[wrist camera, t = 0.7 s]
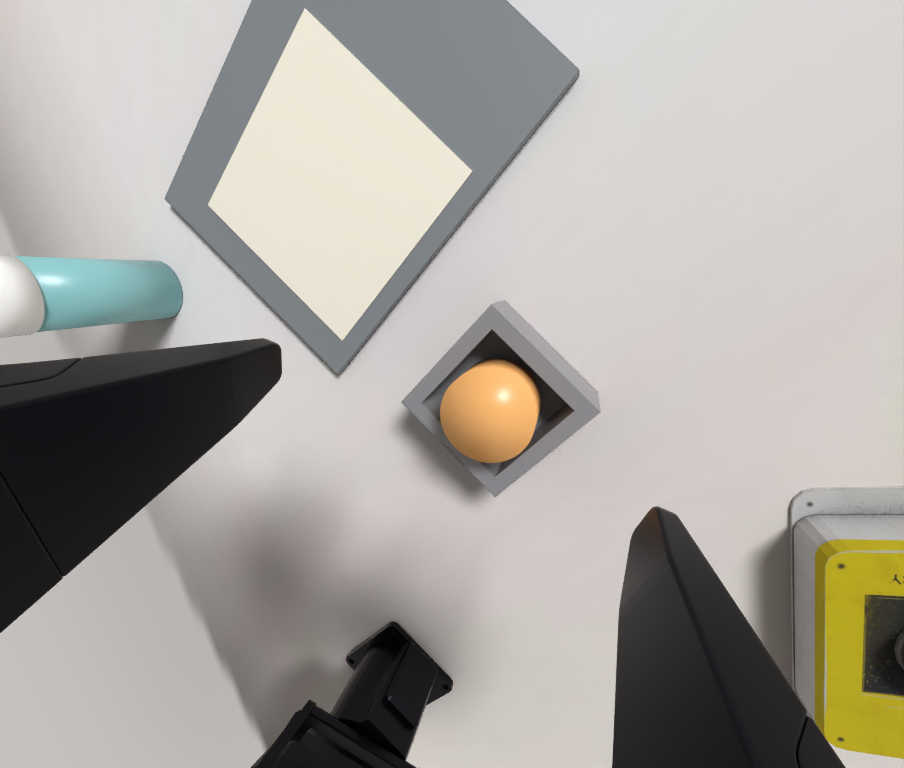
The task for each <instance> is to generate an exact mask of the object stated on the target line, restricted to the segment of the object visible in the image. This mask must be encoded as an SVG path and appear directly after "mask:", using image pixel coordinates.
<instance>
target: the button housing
mask: <svg viewBox="0 0 904 768" xmlns="http://www.w3.org/2000/svg"><path fill="white" fill-rule="evenodd" d="M490 358H505V359H509V360H512V361H515V362H517V363H519V364H521V365H522V366H524V367H525V368H526V369H527V370H528V371H529V372H530V373H531V374H532V375H533V377H534V378H535V380H536V381H537V383H538V386H539V389H540V392H541V409H540V413H539V416H538V420H537V423H536V426H535V430H534V433H533V436H532V438H531V440H530V442H529V444H528V445H527V446H526V448H525V449H524V450H523V451H522V452H521V453H520V454H518V455H517V456H515V457H513V458H512V459H509V460H507V461H503V462H498V463H485V462H480V461H476V460H473V459H471V458H469V457H467V456H465V455H463V454H462V453H461V452H459V451H458V450H457V449H456V448H455V447H454V446H453V445H452V444H451V443H450V441H449V440H448V438H447V437H446V435H445V433H444V430H443V428H442V424H441V419H440V407H441V402H442V398H443V396H444V394H445V392H446V390H447V389H448V388H449V386H450V385H451V384H452V383H453V382H454V381H455V380H456V379H458V378H459V377H460V376H461V375H462V374H464V373H465V372H466V371H467V370H468V369H470V368H471V367H472V366H473V365H475V364H476V363H478V362H480V361H482V360H485V359H490ZM401 403H402V404H403V405H404V406H405V407H406V408H407V409H408V410H409V411H410V412H411V413H412V414H413V415H414V416H415V417H416V418H417V419H418V420H419V421H420V422H421V423H422V424H423V425H424V426H425V427H426V428H427V429H428V430H429V431H430V432H431V433H432V434H433V435H434V436H435V437H436V438H437V439H438V440H439V441H440V442H441V443H442V444H443V445H444V446H445V447H446V448H447V449H448V450H449V451H450V452H451V453H452V454H453V455H454V456H455V457H456V458H457V459H458V460H459V461H460V462H461V463H462V464H463V465H464V466H465V467H466V468H467V469H468V470H469V471H470V472H471V473H472V474H473V475H474V476H475V477H476V478H477V479H478V480H479V481H480V482H481V483H482V484H483V485H484V486H485V487H486V488H487V489H488V490H489V491H490V492H491V493H492V494H493V495H494V496H495V497H496V496H497V495H499V494H500V493H501V492H502V491H503V490H505V489H506V488H507V487H508V486H510V485H511V484H512V483H513V482H515V481H516V480H517V479H518V478H520V477H521V476H522V475H523V474H525V473H526V472H527V471H528V470H529V469H531V468H532V467H533V466H534V465H536V464H537V463H538V462H539V461H541V460H542V459H543V458H544V457H546V456H547V455H548V454H549V453H551V452H552V451H553V450H554V449H555V448H557V447H558V446H559V445H560V444H562V443H563V442H564V441H565V440H567V439H568V438H569V437H570V436H572V435H573V434H574V433H575V432H577V431H578V430H579V429H580V428H581V427H583V426H584V425H585V424H586V423H588V422H589V421H590V420H591V419H593V418H594V417H595V416H596V415H598V414H599V413H600V405H599V398H598V392H597V391H596V390H595V389H594V388H593V387H592V386H591V385H590V384H589V383H588V382H587V381H586V380H585V379H584V378H583V377H582V376H581V375H580V374H579V373H578V372H577V371H576V370H575V369H574V368H573V367H572V366H571V365H570V364H569V363H568V362H567V361H566V360H565V359H564V358H563V357H562V356H561V355H560V354H559V353H558V352H557V351H556V350H555V349H554V348H553V347H552V346H551V345H550V344H549V343H548V342H547V341H546V340H545V339H544V338H543V337H542V336H541V335H540V334H539V333H538V332H537V331H535V330H534V329H533V328H532V327H531V326H530V325H529V324H528V323H527V322H526V321H525V320H524V319H523V318H522V317H521V316H520V315H519V314H518V313H517V312H516V311H515V310H514V309H513V308H512V307H511V306H510V305H509V304H508V303H507V302H506V301H505V300H503V301H500V302H497V303H494V304H491V306H490V307H489V308H488V309H487V310H486V311H485V312H484V313H483V314H482V315H481V316H480V317H479V318H478V320H477V321H476V322H475V323H474V324H473V325H472V326H471V327H470V328H469V329H468V330H467V331H466V333H465V334H464V335H463V336H462V337H461V338H460V339H459V340H458V341H457V342H456V343H455V344H454V346H453V347H452V348H451V349H450V350H449V351H448V352H447V353H446V354H445V355H444V356H443V357H442V359H441V360H440V361H439V362H438V363H437V364H436V365H435V366H434V367H433V368H432V369H431V370H430V372H429V373H428V374H427V375H426V376H425V377H424V378H423V379H422V380H421V381H420V382H419V383H418V384H417V386H416V387H415V388H414V389H413V390H412V391H411V392H410V393H409V394H408V395H407V396H406V397H405V399H404V400H403V401H402V402H401Z"/></svg>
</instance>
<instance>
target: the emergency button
mask: <svg viewBox="0 0 904 768" xmlns="http://www.w3.org/2000/svg"><path fill="white" fill-rule="evenodd" d="M790 547H791V626H792V689H793V690H794V692H795V693H796V695H797V696H798V698H799V699H800V701H801V702H802V704H803V705H804V707H805V708H806V710H807V712H808V713H807V716H809V717H811V718H812V719H813V720H814V722H815V723H816V725H817V726H818V728H819V729H820V731H821V732H822V734H823V735H824V737H825V738H826V740H827V741H828V742H830V743H831V744H832V745H834V746H835V747H838V748H842V749H845V750H849V751H856V752H862V753H869V754H876V755H882V756H889V757H895V758H902V759H904V486H885V487H832V488H811V489H807V490H803V491H801V492H800V493H798V494H797V495H796V496H795V497H794V498H793V500H792V503H791V507H790Z"/></svg>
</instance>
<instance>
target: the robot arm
mask: <svg viewBox="0 0 904 768" xmlns="http://www.w3.org/2000/svg"><path fill="white" fill-rule="evenodd" d="M281 374H282V359H281V348H280V346H279V345H278V344H277V343H275V342H272V341H270V340H268V339H264V338H261V339H251V340H242V341H232V342H223V343H214V344H204V345H195V346H185V347H176V348H167V349H157V350H148V351H138V352H129V353H120V354H110V355H101V356H91V357H84V358H83V359H81V358H72V359H63V360H53V361H42V362H33V363H21V364H7V365H0V633H1V632H2V631H3V630H4V629H6V628H7V627H8V626H9V625H10V624H11V623H12V622H13V621H15V620H16V619H17V618H18V617H19V616H20V615H22V614H23V613H24V612H25V611H26V610H27V609H28V608H30V606H32V605H33V604H34V603H35V602H36V601H37V600H39V599H40V598H41V597H42V596H43V595H44V594H45V593H47V591H49V590H50V589H51V588H52V587H53V586H55V585H56V584H57V583H58V582H59V581H60V580H61V579H62V578H63V576H66V575H67V574H68V573H69V572H70V571H71V570H73V569H74V568H75V567H76V566H77V565H78V564H79V563H81V562H82V561H83V560H84V559H85V558H86V557H87V556H89V555H90V554H91V553H92V552H93V551H94V550H95V549H97V548H98V547H99V546H100V545H101V544H102V543H103V542H105V541H106V540H107V539H108V538H109V537H110V536H111V535H112V534H114V533H115V532H116V531H117V530H118V529H119V528H120V527H122V526H123V525H124V524H125V523H126V522H127V521H129V520H130V519H131V518H132V517H133V516H134V515H135V514H136V513H138V512H139V511H140V510H141V509H142V508H143V507H145V506H146V505H147V504H148V503H149V502H150V501H151V500H153V499H154V498H155V497H156V496H157V495H158V494H159V493H161V492H162V491H163V490H164V489H165V488H166V487H167V486H169V485H170V484H171V483H172V482H173V481H174V480H175V479H177V478H178V477H179V476H180V475H181V474H182V473H183V472H185V471H186V470H187V469H188V468H189V467H190V466H191V465H193V464H194V463H195V462H196V461H197V460H198V459H199V458H201V457H202V456H203V455H204V454H205V453H206V452H207V451H209V450H210V449H211V448H212V447H213V446H214V445H215V444H217V443H218V442H219V441H220V440H221V439H222V438H223V437H225V436H226V435H227V434H228V433H229V432H230V431H231V430H232V429H234V428H235V427H236V426H237V425H238V424H239V423H240V422H241V421H242V420H243V419H244V418H245V417H246V416H247V415H248V414H249V412H250V411H251V410H252V409H253V408H254V407H255V406H256V405H257V404H258V403H259V402H260V401H261V400H262V399H263V397H264V396H265V395H266V394H267V393H268V392H269V391H270V390H271V389H272V388H273V387H274V386H275V385H276V383H277V382H278V381H279V379H280V377H281ZM346 661H347V663H348V664H349V665H350V666H351V668H352V669H353V670H354V673H353V675H352V676H351V678H350V680H349V682H348V684H347V685H346V687H345V689H344V691H343V692H342V694H341V696H340V698H339V699H338V701H337V703H336V705H335V706H334V708H333V710H332V712H331V713H330V714H329V713H327V712H326V711H324V710H323V709H321V708H319V707H318V706H316V703H315V702H313V701H311V700H309V701H308V702H307V703H306V705H305V706H304V707H303V709H302V710H299V711H298V712H296V713H295V714H294V716H293V717H292V719H291V720H290V722H289V723H288V725H287V726H286V728H285V729H284V731H283V732H282V733H281V735H280V736H279V737H278V739H277V740H276V741H275V742H274V744H273V745H272V746H271V747H270V748H269V749H268V750H267V751H266V752H265V753H264V754H263V755H262V756H261V757H260V758H259V759H258V760H257V761H256V763H255V764H254V765H253V766H252V767H251V768H416V767H415V766H413V765H411V764H410V763H408V762H407V761H406V759H407V756H408V754H409V751H410V748H411V745H412V743H413V740H414V737H415V734H416V731H417V729H418V726H419V723H420V720H421V717H422V715H423V712H424V709H425V706H426V705H428V704H429V703H431V702H433V701H435V700H436V699H438V698H440V697H442V696H443V695H445V694H447V693H449V692H450V691H451V690H452V687H453V681H452V679H451V678H450V677H449V676H448V675H447V674H446V673H445V672H444V671H443V670H442V669H441V668H440V667H439V666H438V665H437V664H436V663H435V662H434V661H433V660H432V659H431V658H430V656H429V655H428V654H427V653H426V652H425V651H424V650H423V649H422V648H421V647H420V646H419V645H418V644H417V643H416V642H415V641H414V640H413V639H412V638H411V637H410V636H409V635H408V634H407V633H406V632H405V631H404V630H403V628H402V627H401V626H400V625H399V624H397V623H395V622H391V623H389V624H388V625H386V626H385V627H384V628H382V629H381V630H380V631H378V632H377V633H375V634H374V635H373V636H371V637H370V638H369V639H367V640H366V641H365V642H363V643H362V644H361V645H359V646H358V647H357V648H355V649H354V650H353V651H351V652H350V653H349V654H348V656H347V658H346ZM807 713H808V712H807V710H806V708H805V707H804V705H803V704H802V702H801V701H800V699H799V698H798V696H797V695H796V693H795V692H794V690H793V689H792V687H791V686H790V684H789V683H788V681H787V680H786V678H785V677H784V675H783V674H782V672H781V671H780V669H779V668H778V666H777V665H776V663H775V662H774V660H773V659H772V657H771V656H770V654H769V653H768V651H767V650H766V648H765V647H764V645H763V644H762V642H761V641H760V639H759V638H758V636H757V635H756V633H755V632H754V630H753V629H752V627H751V626H750V624H749V623H748V621H747V620H746V618H745V617H744V615H743V614H742V612H741V611H740V609H739V608H738V606H737V605H736V603H735V602H734V600H733V599H732V597H731V596H730V594H729V593H728V591H727V590H726V588H725V587H724V585H723V583H722V582H721V580H720V579H719V577H718V576H717V574H716V573H715V571H714V570H713V568H712V567H711V565H710V564H709V562H708V561H707V559H706V558H705V556H704V555H703V553H702V552H701V550H700V549H699V547H698V546H697V544H696V543H695V541H694V540H693V538H692V537H691V535H690V534H689V532H688V531H687V529H686V528H685V526H684V525H683V523H682V522H681V520H680V519H679V517H678V516H677V515H676V514H674V513H672V512H670V511H667V510H665V509H663V508H660V507H658V506H657V507H653V508H652V509H650V511H649V512H648V513H647V514H646V516H645V517H644V518H643V520H642V521H641V522H640V524H639V525H638V526H637V527H636V529H635V530H634V532H633V534H632V537H631V541H630V546H629V552H628V558H627V564H626V570H625V576H624V582H623V588H622V594H621V601H620V608H619V621H618V643H617V667H616V691H615V715H614V739H613V763H612V768H845V766H844V765H843V763H842V762H841V760H840V759H839V757H838V756H837V754H836V753H835V752H834V750H833V749H832V747H831V746H830V744H829V743H828V741H827V740H826V738H825V737H824V735H823V734H822V732H821V731H820V729H819V728H818V726H817V725H816V723H815V722H814V720H813V719H812V718H811V717H809V716H807Z"/></svg>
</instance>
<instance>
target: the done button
mask: <svg viewBox="0 0 904 768" xmlns="http://www.w3.org/2000/svg"><path fill="white" fill-rule="evenodd" d="M540 409H541V392H540V389H539V386H538V383H537V381H536V380H535V378H534V377H533V375H532V374H531V373H530V372H529V371H528V370H527V369H526V368H525V367H524V366H522V365H521V364H519V363H517V362H515V361H512V360H509V359H505V358H490V359H485V360H482V361H480V362H478V363H476V364H475V365H473V366H472V367H471V368H470V369H468V370H467V371H466V372H465V373H464V374H462V375H461V376H460V377H459V378H458V379H456V380H455V381H454V382H453V383H452V384H451V385H450V386H449V388H448V389H447V390H446V392H445V394H444V396H443V398H442V402H441V407H440V419H441V424H442V428H443V430H444V433H445V435H446V437H447V438H448V440H449V441H450V443H451V444H452V445H453V446H454V447H455V448H456V449H457V450H458V451H459V452H461V453H462V454H463V455H465V456H467V457H469V458H471V459H473V460H476V461H480V462H485V463H498V462H503V461H507V460H509V459H512V458H513V457H515V456H517V455H518V454H520V453H521V452H522V451H523V450H524V449H525V448H526V446H527V445H528V444H529V442H530V440H531V438H532V436H533V433H534V430H535V426H536V423H537V420H538V416H539V413H540Z"/></svg>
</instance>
